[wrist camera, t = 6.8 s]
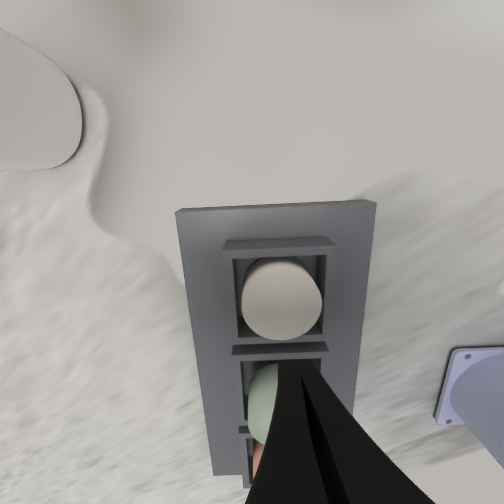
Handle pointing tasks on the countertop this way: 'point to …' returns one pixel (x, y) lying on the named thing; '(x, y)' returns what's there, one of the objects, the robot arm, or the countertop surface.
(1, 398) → the countertop surface
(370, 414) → the countertop surface
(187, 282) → the panel
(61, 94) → the can
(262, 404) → the sage button
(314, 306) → the cream button
